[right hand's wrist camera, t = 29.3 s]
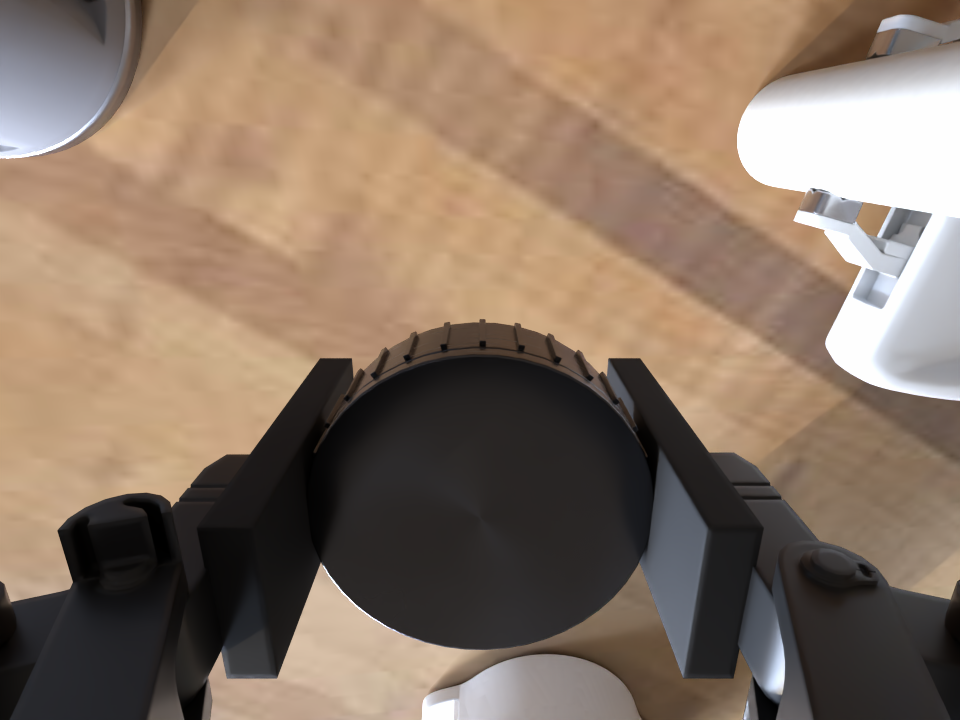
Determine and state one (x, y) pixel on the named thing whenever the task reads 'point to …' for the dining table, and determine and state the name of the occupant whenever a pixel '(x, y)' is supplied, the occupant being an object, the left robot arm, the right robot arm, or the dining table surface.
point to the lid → (480, 488)
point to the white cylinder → (863, 131)
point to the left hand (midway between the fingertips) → (841, 126)
